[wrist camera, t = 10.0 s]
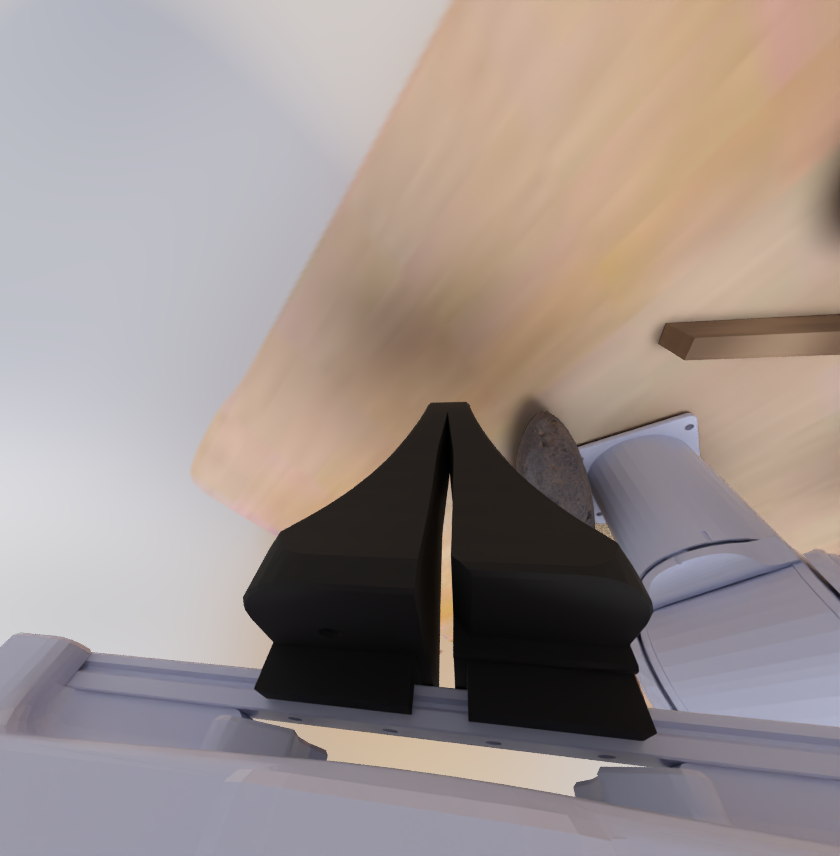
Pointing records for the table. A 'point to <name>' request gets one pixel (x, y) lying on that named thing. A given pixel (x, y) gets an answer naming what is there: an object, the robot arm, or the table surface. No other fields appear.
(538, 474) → the perforated stone tool
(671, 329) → the tray
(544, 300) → the table surface
